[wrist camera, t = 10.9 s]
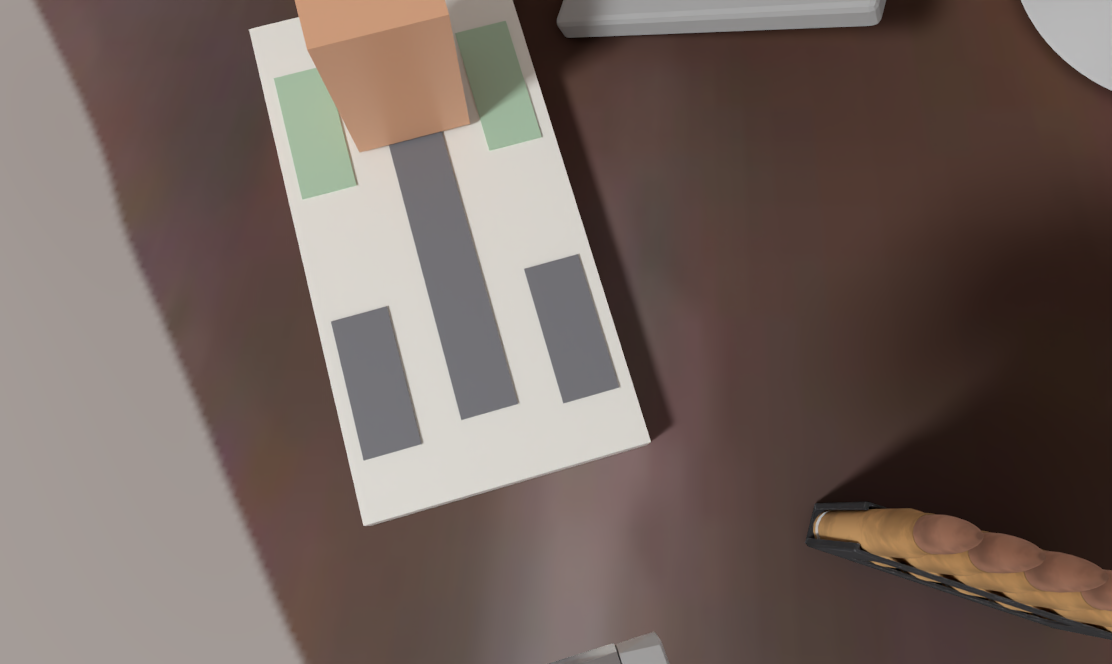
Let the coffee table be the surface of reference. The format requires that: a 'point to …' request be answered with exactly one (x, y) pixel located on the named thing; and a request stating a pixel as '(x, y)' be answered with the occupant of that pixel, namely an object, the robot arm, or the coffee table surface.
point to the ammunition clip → (969, 563)
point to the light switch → (710, 16)
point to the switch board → (450, 280)
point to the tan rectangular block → (386, 66)
